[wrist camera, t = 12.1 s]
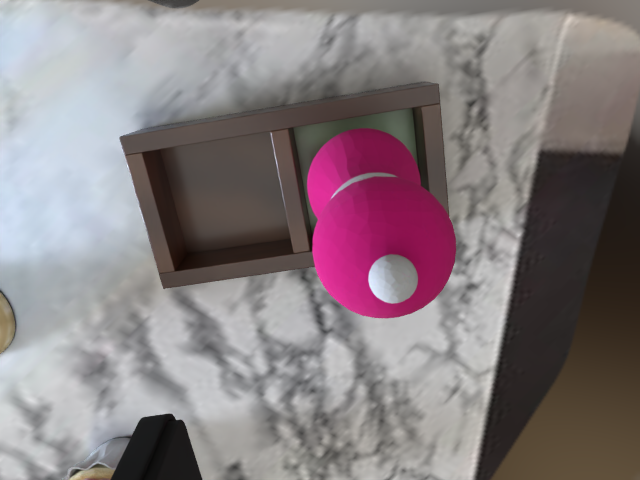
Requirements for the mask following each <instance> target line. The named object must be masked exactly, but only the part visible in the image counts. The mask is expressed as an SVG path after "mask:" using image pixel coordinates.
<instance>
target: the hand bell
mask: <svg viewBox="0 0 640 480" xmlns="http://www.w3.org/2000/svg"><path fill="white" fill-rule="evenodd" d="M14 333H15V320H14V315H13V311H12V309H11V307H10V305H9V303H8V302H7V300H6V299H5V297H4V296H3V295H2V293H1V292H0V354H1V353H2V352H3V351H4V350H5V349H6V348H7V347H8V346H9V345H10V343H11V341H12V340H13V337H14Z"/></svg>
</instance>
